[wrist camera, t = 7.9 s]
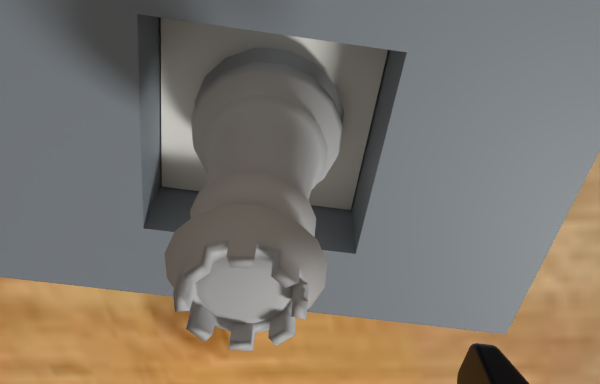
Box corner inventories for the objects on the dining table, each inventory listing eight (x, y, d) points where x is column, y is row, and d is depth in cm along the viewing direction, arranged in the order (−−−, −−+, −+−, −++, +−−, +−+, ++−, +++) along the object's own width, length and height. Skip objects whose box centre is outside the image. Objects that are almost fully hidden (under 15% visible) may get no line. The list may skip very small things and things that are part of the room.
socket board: (638, -54, 14) (692, -31, 12) (487, 282, 21) (506, 334, 19) (-81, -167, 13) (-154, -162, 11) (2, 225, 20) (-34, 272, 18)
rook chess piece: (186, 156, 18) (111, 359, 11) (209, 23, 15) (130, 183, 9) (320, 187, 18) (322, 398, 12) (363, 63, 16) (395, 242, 9)
